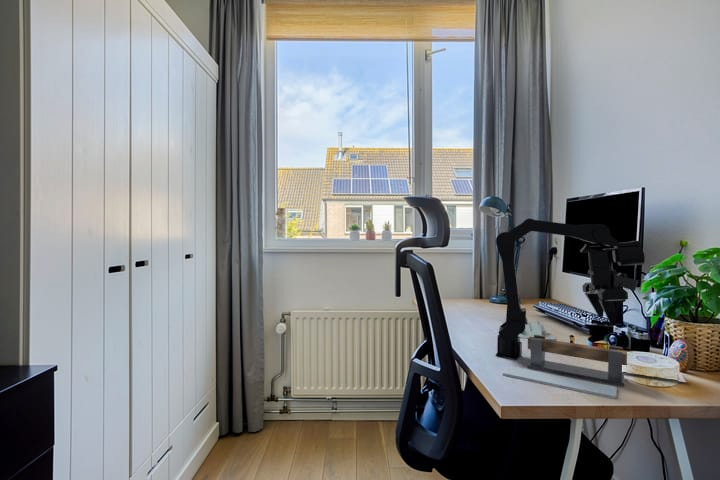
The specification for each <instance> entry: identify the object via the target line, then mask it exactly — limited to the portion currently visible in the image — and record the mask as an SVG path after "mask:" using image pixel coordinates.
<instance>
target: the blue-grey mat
mask: <svg viewBox="0 0 720 480" xmlns="http://www.w3.org/2000/svg"><path fill="white" fill-rule="evenodd" d="M502 376H506V377H511V378H514V379H519V380H524V381H528V382H534V383H539V384H543V385H547V386H552V387H556V388H557V387H558V388H561V389H562V388H563V389H567V390H572V391H576V392H581V393H585V394H586V393H587V394H590V395H595V396H598V397H599V396H601V397H603V398H608V399H612V400H613V399H615V400H617V391H618V389H617V386H615V385H610V384H605V383H600V382H595V381H590V380H585V379H580V378H575V377H570V376H564V375H563V376H562V375H559V374H554V373H549V372H544V371H539V370H534V369H529V368H524V367H517V366H514V365H513V366H512V365H508V366H507V367H506V369H505V370H504V371H503V372H502Z"/></svg>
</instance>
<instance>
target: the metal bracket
mask: <svg viewBox="0 0 720 480" xmlns="http://www.w3.org/2000/svg"><path fill="white" fill-rule="evenodd" d="M527 321H528V319H527ZM534 335H541V336H545V339H549V340H555V341H557V340H556V337H555V336H554V335H551V334H550V335H549V334H548V333H547V331H546V329H545V327H544V324H543V323H542V322H540V320H536V322H529V321H528V325H526V324H525V330H524V332H523V333H521V334H519V335H518V336H519V337H520V339H525V338H526V339H527V340H528V338H529V337H534ZM526 339H525V340H526Z"/></svg>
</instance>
